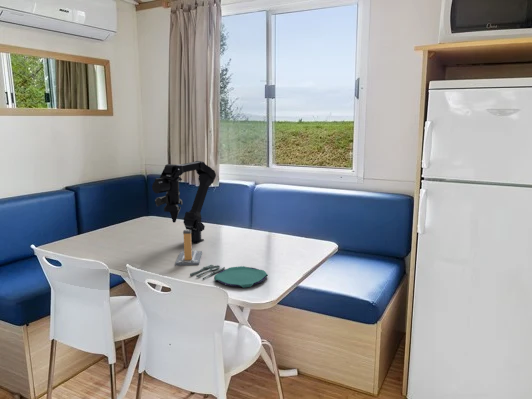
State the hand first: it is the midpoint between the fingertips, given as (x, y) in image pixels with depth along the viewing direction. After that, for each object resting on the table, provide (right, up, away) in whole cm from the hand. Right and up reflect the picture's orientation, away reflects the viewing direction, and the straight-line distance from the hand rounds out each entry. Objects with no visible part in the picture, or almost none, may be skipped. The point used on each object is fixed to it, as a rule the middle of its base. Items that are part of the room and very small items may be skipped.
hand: (174, 222), depth 199 cm
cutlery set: (+30, -21, -34) cm, 50 cm away
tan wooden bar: (+10, -15, -18) cm, 25 cm away
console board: (+10, -16, -13) cm, 23 cm away
